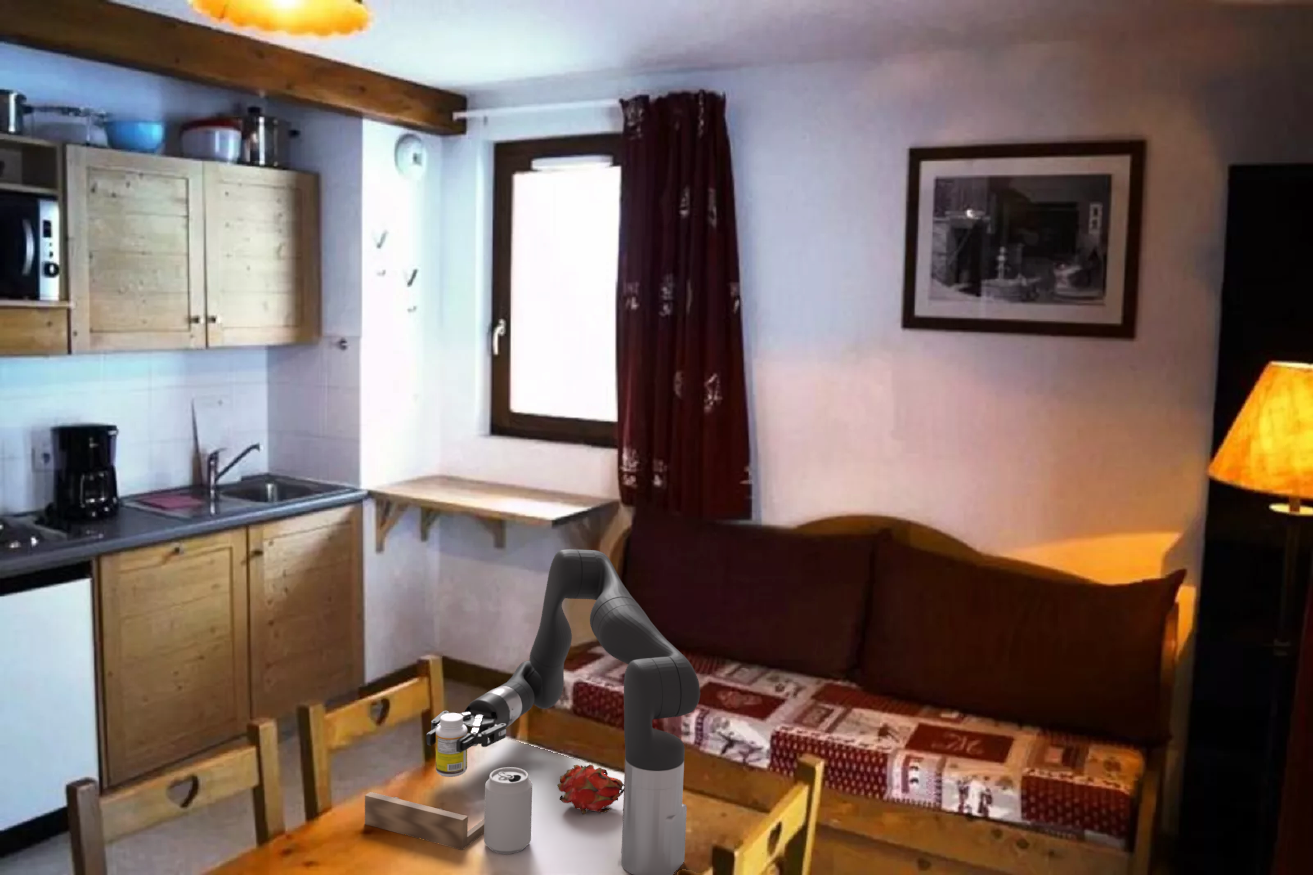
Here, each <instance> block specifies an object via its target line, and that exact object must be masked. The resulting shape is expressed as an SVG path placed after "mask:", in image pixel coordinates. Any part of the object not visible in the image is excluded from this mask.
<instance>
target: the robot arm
mask: <svg viewBox="0 0 1313 875" xmlns="http://www.w3.org/2000/svg"><path fill="white" fill-rule="evenodd" d="M543 599H544V600H543V604H542V611H541V616H540V617H541V618H540V622H539V626H538V629H537V633H536V635H535V639H534V641H533V644H532V647H531V650H530V653H529V660H524V661H523V662H521V663H520V664H519V665H518V666H517V668H516V669H515V671H514V673H513V674H512V676H511V677H510V678H509V679H508V680H507V682H505V683H503V684H501V685H500V686H498V687H496V688H492V689H491V690H489V691H488V692H486V693H483V694H482V695H480V696H479V697H477V698H475V699H474V700H472V701H470V703H469V704H468V705H467V707H466V708H465V710H464V711H463V712H460V713H458V714H461V715H462V716H463V724H464V725H465V726H466V727H467V734H466V735H465V736H463V737H461V738H460V739H458V740H457V743H456V751H457V752H460V753H461V752H462V751H464V750H467V751H468V750H469V749H470V748H472V747H477V746H478V745H481V747H482V748H486V747H489V746H491V745H493V744H495V743H498V742H499V741H502V740H504V739H506V737H507V728H508V727H509V726H510V725H512V724H513V723H514V722H515V721H517V719H518V718H520V717H521V716H523V715H524V714H526V713H527V712H528V711H530V710H531V709H532V707H533V706H536V707H537V708H538V709H543V710H546V709H549V708H551V707H554V706H555V705H556V704H557V703H558V702H559V700H560V699H561V696H562V693H563V690H564V683H565V681H564V680H565V678H564V677H565V676H564V675H565V674H564V672H565V661H566V659H567V656H568V653H569V651H570V649H571V645H572V639H573V634H572V633H573V632H572V628H571V626H570V623H569V621H568V619H567V617H566V615H565V613H564V612H565V611H564V610H563V603H564V600H565V599H570V600H573V599H574V600H593V601H595V602H594V603H593V605H592V607H591V611H590V615H589V624H590V628H591V631H592V633H593V635H594V636H595V638H596V639H597V641H598V643H599V645H601V647H602V648H603V650H604V651H605V652H606V653H607V654H609V655H610V656H612V657H613V658H615V659H617V660H618V661H620V662H623V663H624V664H627V666H626V669H625V671H624V677H623V678H624V680H623V708H624V709H623V710H624V712H623V714H624V715H623V716H624V718H623V719H624V722H623V723H624V724H623V725H624V726H623V729H624V730H623V731H624V733H623V734H624V735H623V736H624V748H625V749H624V776H623V780H624V781H623V784H624V786H623V789H624V792H623V804H622V805H623V807H622V831H621V851H620V853H621V859H620V860H621V861H620V863H621V866H622V868H623V869H624V870H625V871H626V872H628V873H629V874H631V875H673V874H675V873H676V872H677V871H678V870H679V869H680V867H681V866H682V865H683V864H684V863H685V853H686V852H685V850H686V834H687V832H686V831H687V811H688V810H687V805H686V804H684V803H683V798H684V797H683V795H684V794H683V792H684V791H683V790H684V773H685V772H684V771H685V745H684V742H683V741H682V739H681V738H680V737H678V736H677V735H675V734H672V733H671V732H667V731H664V730H660V729H658V728H654V727H653V720H660V719H668V718H669V719H670V718H676V717H677V718H678V717H682V716H685V715H688V714H690V713H692V712H694V711H695V709H696V708H697V707H698V704H699V702H700V698H701V689H700V688H701V686H700V683H699V678H698V675H697V673H696V670H695V669H694V666H693V665H692V664H691V662H690V661H689V659H688V658H687V657H686V656H685V655H684V654H682V652H680V651H679V649H677V648H676V647H675V646H674V645H673V644H672V643H671V642H670V641H669V640H667V638H666V637H665V636H664V635H663V634H662V633H661V632H660V631H659V629H658V628H657V627H656V626H655V625H654V624H653V622H652V621H651V620H650V618H649V617H648V615H647V614H646V612H645V611H644V609H642V607H641V605H640V604H639V602H637V601H636V600H635V598H634V597H633V596H632V594H630V592H629V590H628V589H627V588H626V587H625V584H624V583H623V582H622V580H621V578H620V576H619V574H618V573H617V570H616V568H615V566H614V565H613V563H612V561H611V560H610V558H609V557H608V556H607V554H606V553H604V552H602V551H599V550H595V549H592V550H591V549H572V548H571V549H569V548H568V549H560V550H558V551H557V552H556V553H555V555H554V557H553V558H552V561H551V563H550V568H549V570H548V577H547V582H546V587H545V592H544V598H543ZM447 713H450V712H449V711H448V710H443V711H442V712H440V713H439V714H438V715H436V717H434V718H433V719H432V720H431V721H430V724H431V725H430V731H428V732H427V733H426V744H427V745H428V746H433V745H434V744H435V745H436V729H437V727H438V726H439V725H440V718H441V716H442V715H444V714H447ZM683 862H684V863H683ZM676 870H677V871H676ZM675 871H676V872H675ZM674 872H675V873H674Z"/></svg>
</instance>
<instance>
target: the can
mask: <svg viewBox="0 0 1313 875" xmlns="http://www.w3.org/2000/svg"><path fill="white" fill-rule="evenodd" d="M529 777H530V776H529V773H528V771H526V770H525V769H524V768H523V769H522V768H520V767H515V766H514V767H513V766H511V767H510V766H507V767H500V768H496V769H494V770H493V771H491V772H490V773H489V778H488V779H487V780H486V782H485V784H484V814H483V815H484V833H483V842H484V845H486V846H487V847H488V848H489V849H490V850H491V851H492V852H494V853H496V854H501V855H510V854H512V855H513V854H516V853H519V852H522V851H523V850H524V849H525V848H526V847H527V846H528V845H529V844H530V843H531V839H532V816H533V814H532V811H533V810H532V809H533V808H532V807H533V806H532V804H533V782H532V780H531V779H530V778H529Z"/></svg>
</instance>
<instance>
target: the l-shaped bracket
mask: <svg viewBox="0 0 1313 875" xmlns="http://www.w3.org/2000/svg"><path fill="white" fill-rule="evenodd" d="M468 818H469V817H468V815H464V814H460V813H457V812H452V811H448V810H444V808H441V807H437V808H435V807H433V806H428V805H425V804H421V803H416V802H412V801H408V800H404V799H401V798H400V797H398V796H397V797H396V796H393V797H392V796H389V795H385V794H381V793H376V792H373V791H370V792H367V793H366V794H365V795H364V825H366V826H371V827H374V828H378V829H382V830H385V831H389V832H394V833H397V834H400V835H404V834H406V835H405V836H407V835H408V837H411V836H412V838H415V839H419V838H421V839H420V840H422V839H424V841H427V842H431V843H435V844H437V843H439V844H438V845H442V846H446V847H450V848H452V849H457V850H460V851H463V850H464V849H465V848H466V847H468V846H469V845H470V844H472V843H473V842H475V841H476V840H477V839H478V838H479V837H481V836H482V835H484V819H482V820H481V821H480V822H478V823H477V824H475V825H474V826H473V827H472V828H470V829H469V828H468V826H469V825H468V824H469V821H468ZM468 829H469V830H468Z"/></svg>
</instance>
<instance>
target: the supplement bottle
mask: <svg viewBox="0 0 1313 875" xmlns="http://www.w3.org/2000/svg"><path fill="white" fill-rule="evenodd" d="M466 734H467V727H466V726H465V725H464V724H463V716H462V715H461V714H459V713H458V712H457V713H456V712H449V713H447V714H444V715H442V716H441V718H440V725H439V726H438V727H437V729H436V743H435V771H436V773H437V774H438V775H440V776H441V777H447V778H453V777H459V776H461V775H463V774H465V773H466V771H467V770H468V749H467V750H464V751H462V752H461V753H460V752H457V751H456V743H457V740H458V739H460V738H461V737H463V736H465V735H466Z"/></svg>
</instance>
